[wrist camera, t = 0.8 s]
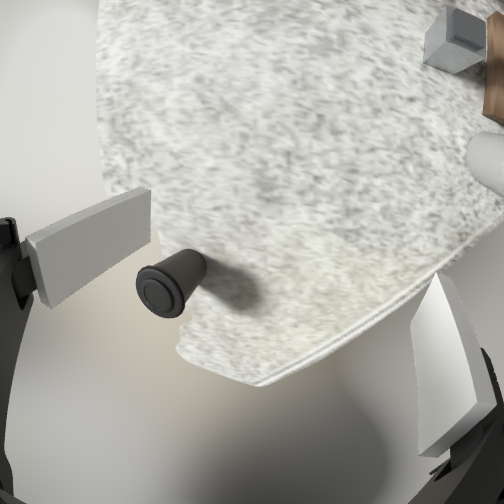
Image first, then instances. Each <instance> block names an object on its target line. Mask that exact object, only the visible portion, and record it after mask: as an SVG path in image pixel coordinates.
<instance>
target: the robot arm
mask: <svg viewBox="0 0 504 504" xmlns="http://www.w3.org/2000/svg"><path fill="white" fill-rule="evenodd" d="M150 214H151V190H148V189H144V188H140V187H139V188H136V189H133V190H131V191H128V192H125V193H123V194H120V195H118V196H115V197H113V198H110V199H108V200H106V201H103V202H101V203H98V204H96V205H93V206H91V207H89V208H86V209H84V210H82V211H80V212H77V213H75V214H73V215H71V216H68V217H66V218H64V219H62V220H60V221H58V222H55V223H53V224H51V225H49V226H47V227H45V228H43V229H41V230H39V231H37V232H35V233H33V234H31V235H29V236H27V237H25V241H23V242H21V243H20V241H19V236H18V231H17V226H16V220H15V219H14V218H10V217H6V218H1V219H0V504H26V503H24V502H22V501H20V500H18V499H17V498H15V497H14V495H13V476H12V470H11V467H10V464H9V462H8V460H7V458H6V455H5V451H4V441H5V429H6V419H7V411H8V404H9V397H10V391H11V385H12V380H13V375H14V370H15V365H16V361H17V357H18V352H19V348H20V344H21V341H22V337H23V333H24V330H25V326H26V323H27V319H28V316H29V313H30V310H31V307H32V304H33V301H34V296H33V293H32V292H33V291H34V290H36V289H37V290H38V293H39V297H40V300H41V302H42V303H44V304H45V305H46V306H47V307H49V308H50V309H53V308H54V307H55V306H57V305H58V304H60V303H61V302H62V301H64V300H65V299H66V298H68V297H69V296H70V295H72V294H73V293H75V292H76V291H78V290H79V289H80V288H82V287H83V286H85V285H86V284H88V283H89V282H90V281H92V280H93V279H95V278H96V277H98V276H99V275H100V274H102V273H104V272H105V271H106V270H108V269H109V268H111V267H112V266H114V265H115V264H117V263H118V262H120V261H121V260H123V259H124V258H126V257H127V256H129V255H130V254H132V253H133V252H135V251H137V250H138V249H140V248H141V247H143V246H144V245H146V244H147V243H149V242H150ZM410 330H411V336H412V344H413V352H414V361H415V371H416V381H417V382H416V383H417V398H418V420H419V421H418V424H419V450H418V455H419V456H425V457H439V456H440V455H442V454H443V453H444V452H445V451H447V450H448V449H449V448H450V455H451V457H450V458H449V459H448V460H446V461H445V462H444V463H442V464H441V465H440V466H438V467H437V468H435V469H434V470H433V471H431V472H430V473H429V474H430V475H432V474H433V473H435V472H436V473H435V474H434V475H433V477H432V478H431V479H430V480H429V481H428V482H427V484H426V485H425V486H424V487H423V488H422V489H421V490H420V491H419V493H418V494H417V495H416V496H415V497H414V498H413V499H412V500H411V501H410V502H409V503H408V504H504V402H503V398H502V395H501V391H500V388H499V384H498V382H497V378H496V374H495V372H494V368H493V365H492V363H491V359H490V358H489V356H488V355H487V353H486V352H485V350H484V349H483V348H480V346H479V343H478V340H477V338H476V335H475V332H474V330H473V327H472V325H471V322H470V320H469V317H468V315H467V312H466V310H465V308H464V305H463V303H462V301H461V298H460V296H459V294H458V292H457V290H456V288H455V285H454V283H453V281H452V279H451V277H448V276H445V275H443V274H440V273H437V272H436V273H435V276H434V278H433V280H432V282H431V284H430V286H429V288H428V291H427V293H426V294H425V297H424V298H423V301H422V302H421V304H420V306H419V308H418V310H417V312H416V314H415V316H414V318H413V319H412V321H411V323H410Z"/></svg>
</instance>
